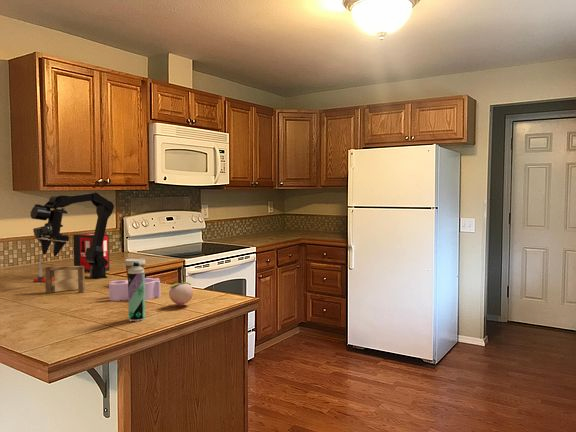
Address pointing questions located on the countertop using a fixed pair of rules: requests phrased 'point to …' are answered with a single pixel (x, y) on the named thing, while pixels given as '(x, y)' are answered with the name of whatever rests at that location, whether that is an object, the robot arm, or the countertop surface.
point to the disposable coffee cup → (130, 263)
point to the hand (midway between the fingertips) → (49, 255)
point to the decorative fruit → (181, 293)
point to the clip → (120, 289)
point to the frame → (49, 269)
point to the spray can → (136, 292)
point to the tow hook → (40, 278)
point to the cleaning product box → (82, 244)
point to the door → (65, 280)
